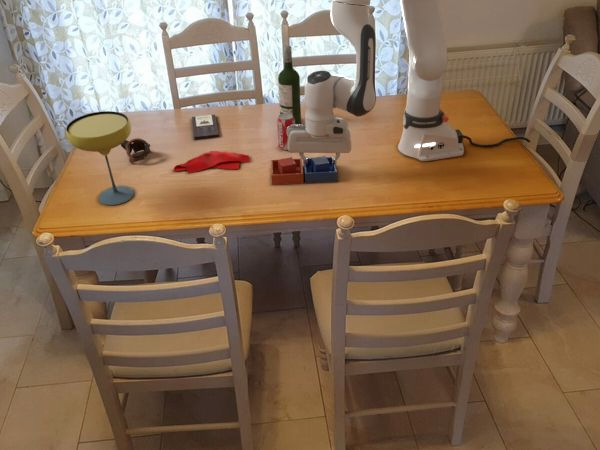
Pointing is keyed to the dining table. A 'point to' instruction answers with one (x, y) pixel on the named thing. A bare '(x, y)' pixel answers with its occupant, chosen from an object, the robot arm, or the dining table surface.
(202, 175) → the dining table surface
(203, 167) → the cloth
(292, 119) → the beverage can
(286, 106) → the wine bottle
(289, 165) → the red block
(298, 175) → the terracotta bin
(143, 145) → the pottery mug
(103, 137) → the cocktail glass
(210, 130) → the chocolate bar
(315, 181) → the blue bin
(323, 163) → the blue block
